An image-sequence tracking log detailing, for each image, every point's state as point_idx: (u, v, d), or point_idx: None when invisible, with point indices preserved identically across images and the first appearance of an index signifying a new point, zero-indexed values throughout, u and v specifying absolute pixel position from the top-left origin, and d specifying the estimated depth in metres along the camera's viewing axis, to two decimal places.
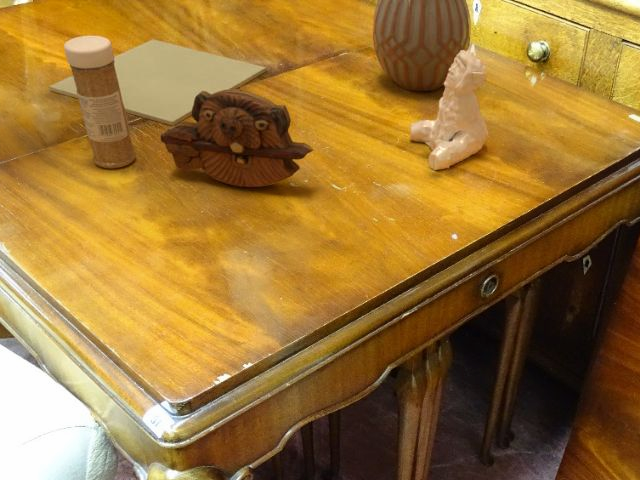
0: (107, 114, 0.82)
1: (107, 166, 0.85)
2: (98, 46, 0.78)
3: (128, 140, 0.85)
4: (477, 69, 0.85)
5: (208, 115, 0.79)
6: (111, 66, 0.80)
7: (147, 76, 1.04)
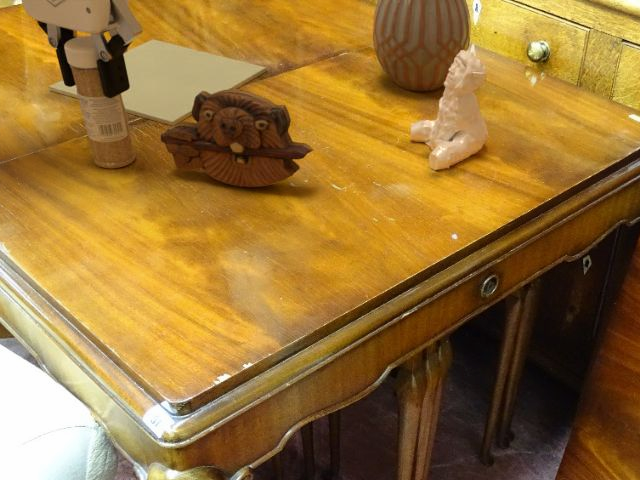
0: (107, 114, 0.82)
1: (107, 166, 0.85)
2: None
3: (128, 140, 0.85)
4: (477, 69, 0.85)
5: (208, 115, 0.79)
6: None
7: (147, 76, 1.04)
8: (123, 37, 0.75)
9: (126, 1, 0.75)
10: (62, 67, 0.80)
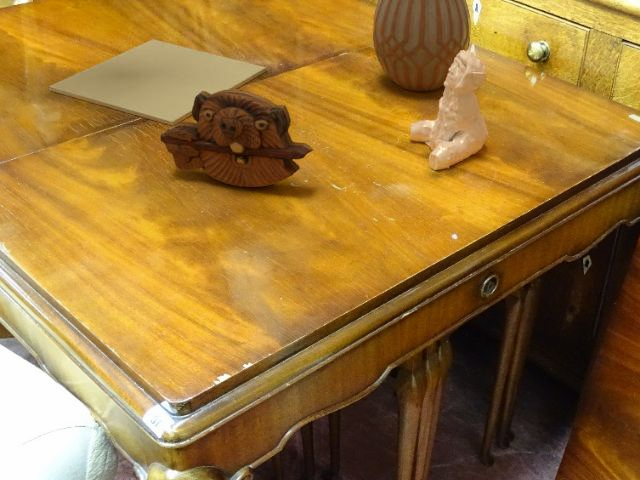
0: None
1: None
2: None
3: None
4: (477, 69, 0.85)
5: (208, 115, 0.79)
6: None
7: (147, 76, 1.04)
8: None
9: None
10: None
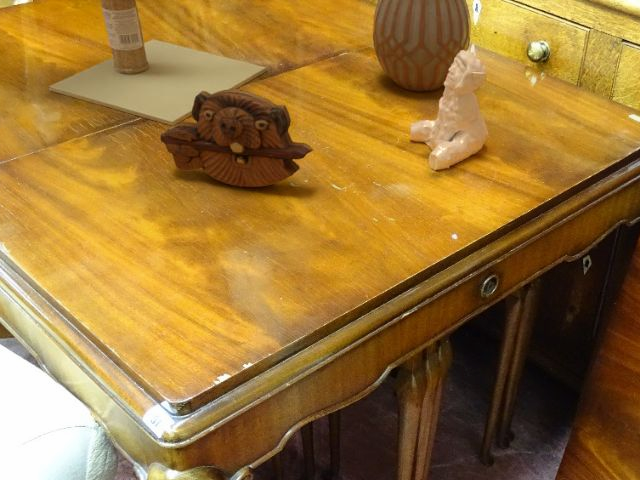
0: (126, 25, 1.00)
1: (125, 71, 1.03)
2: None
3: (142, 50, 1.03)
4: (477, 69, 0.85)
5: (208, 115, 0.79)
6: None
7: (147, 76, 1.04)
8: None
9: None
10: None
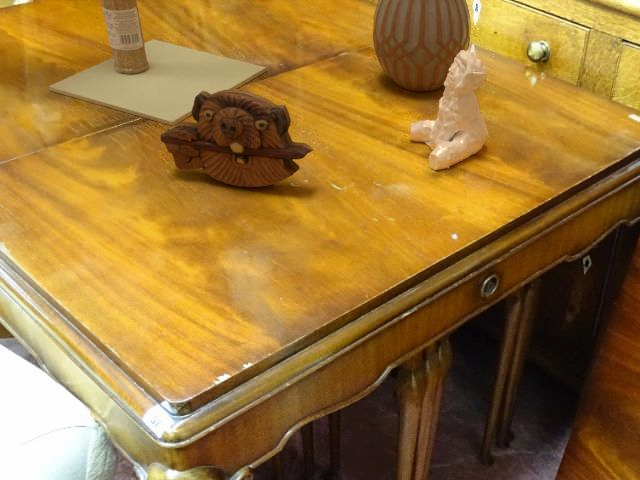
0: (126, 25, 1.00)
1: (125, 71, 1.03)
2: None
3: (143, 50, 1.03)
4: (477, 69, 0.85)
5: (208, 115, 0.79)
6: None
7: (147, 76, 1.04)
8: None
9: None
10: None
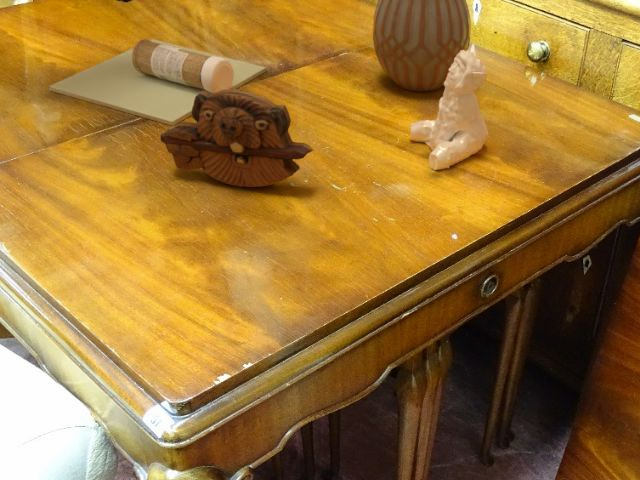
0: (177, 82, 1.02)
1: (135, 68, 1.02)
2: None
3: None
4: (477, 69, 0.85)
5: (208, 115, 0.79)
6: None
7: (147, 76, 1.04)
8: None
9: None
10: None
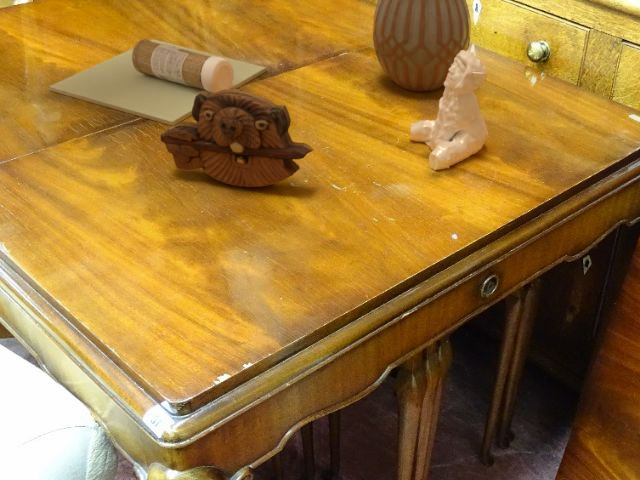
0: (177, 82, 1.02)
1: (135, 68, 1.02)
2: None
3: None
4: (477, 69, 0.85)
5: (208, 115, 0.79)
6: None
7: (147, 76, 1.04)
8: None
9: None
10: None
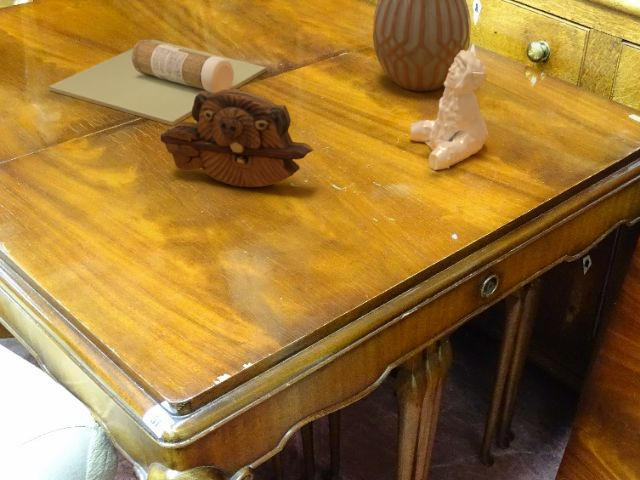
0: (177, 82, 1.02)
1: (135, 68, 1.02)
2: None
3: None
4: (477, 69, 0.85)
5: (208, 115, 0.79)
6: None
7: (147, 76, 1.04)
8: None
9: None
10: None
